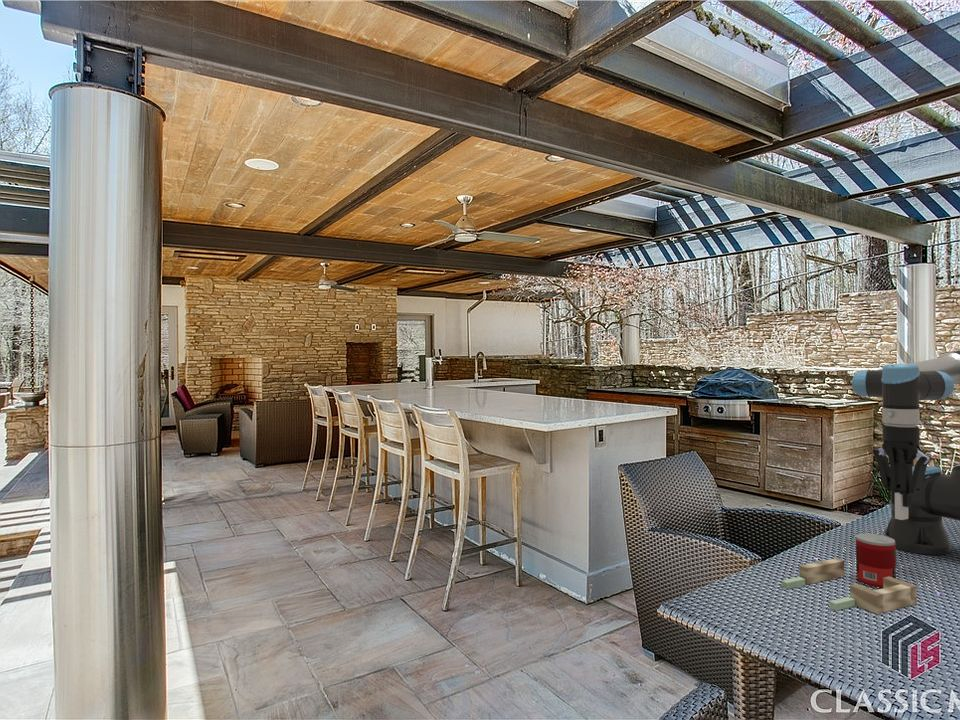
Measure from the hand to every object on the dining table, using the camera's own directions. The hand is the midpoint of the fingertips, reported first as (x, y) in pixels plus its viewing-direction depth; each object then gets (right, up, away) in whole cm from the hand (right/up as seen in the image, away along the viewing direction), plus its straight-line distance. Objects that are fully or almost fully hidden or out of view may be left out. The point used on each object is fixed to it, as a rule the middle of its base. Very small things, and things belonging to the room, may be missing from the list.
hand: (901, 518), depth 141 cm
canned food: (-9, -15, -3) cm, 18 cm away
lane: (-17, -15, -9) cm, 25 cm away
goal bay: (-28, -15, -10) cm, 33 cm away
